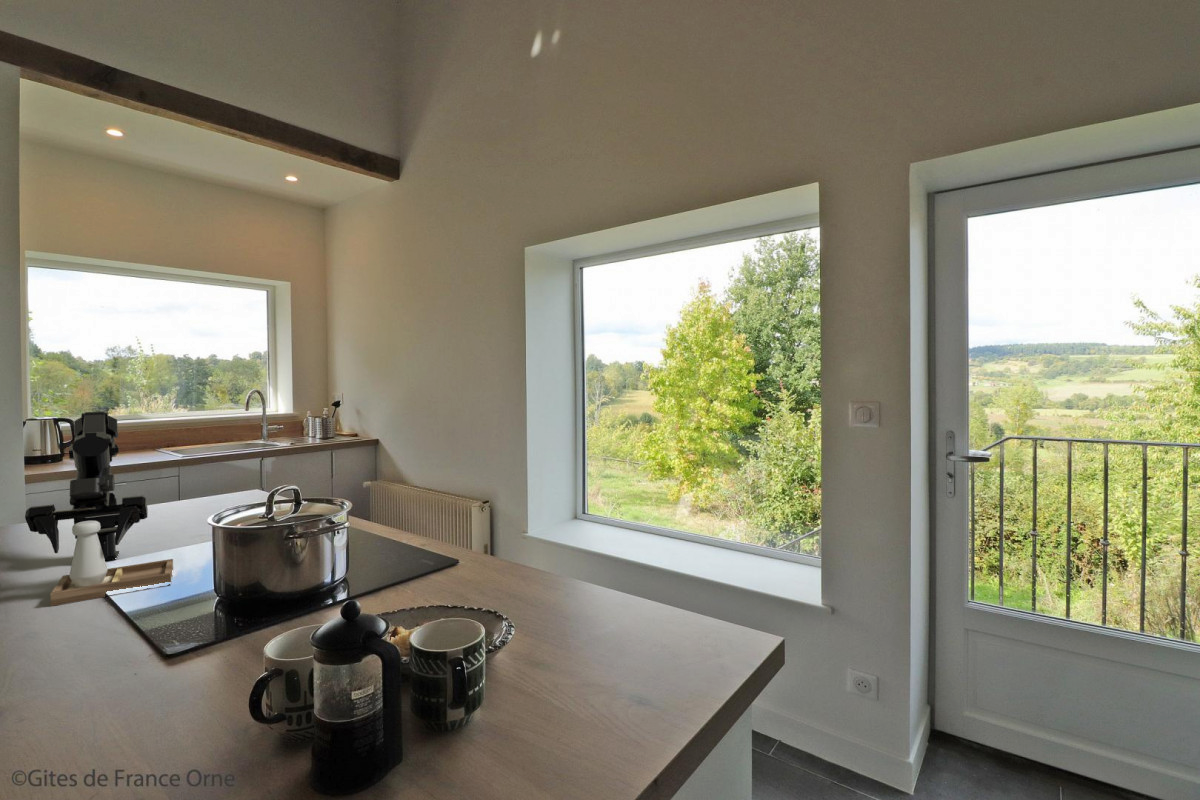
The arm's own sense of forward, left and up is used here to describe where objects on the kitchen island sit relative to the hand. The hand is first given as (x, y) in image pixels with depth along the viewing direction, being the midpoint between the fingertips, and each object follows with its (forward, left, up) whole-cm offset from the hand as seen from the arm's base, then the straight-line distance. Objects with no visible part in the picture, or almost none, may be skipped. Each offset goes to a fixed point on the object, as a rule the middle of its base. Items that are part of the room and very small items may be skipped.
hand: (86, 548), depth 115 cm
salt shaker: (-2, 0, -8) cm, 8 cm away
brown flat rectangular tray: (-1, +4, -9) cm, 10 cm away
